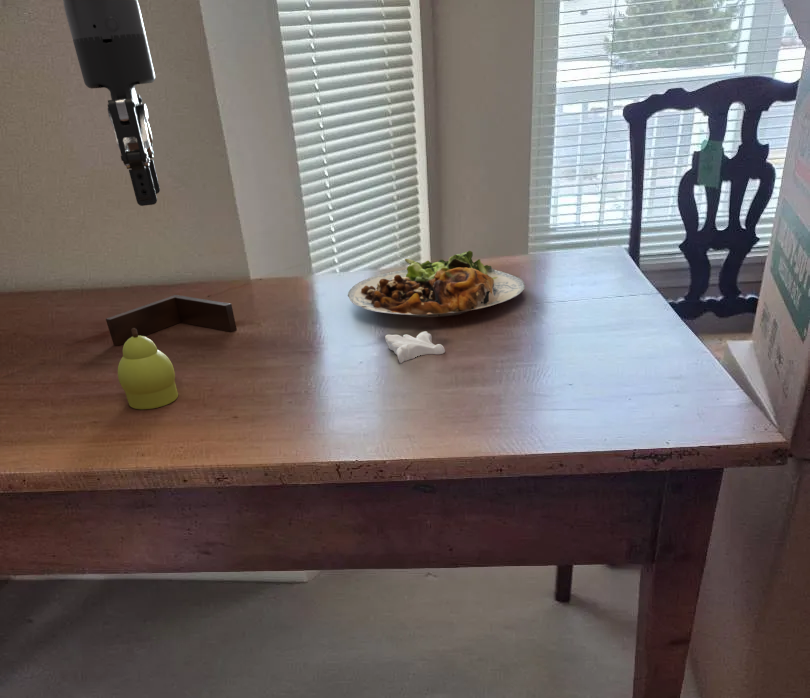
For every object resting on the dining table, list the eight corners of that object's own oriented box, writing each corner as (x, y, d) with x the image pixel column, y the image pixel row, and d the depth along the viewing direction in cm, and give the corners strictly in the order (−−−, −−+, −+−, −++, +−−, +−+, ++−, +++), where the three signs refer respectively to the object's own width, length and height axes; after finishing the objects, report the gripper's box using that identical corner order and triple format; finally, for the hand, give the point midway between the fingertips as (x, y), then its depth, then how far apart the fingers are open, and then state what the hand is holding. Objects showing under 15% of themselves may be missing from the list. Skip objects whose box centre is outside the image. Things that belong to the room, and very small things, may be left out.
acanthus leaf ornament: (399, 364, 95) (397, 350, 94) (379, 349, 100) (377, 336, 99) (450, 351, 97) (449, 337, 96) (428, 338, 102) (427, 324, 101)
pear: (148, 414, 87) (126, 340, 82) (115, 404, 90) (92, 333, 85) (191, 394, 91) (173, 323, 86) (158, 385, 95) (139, 316, 90)
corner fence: (168, 357, 104) (161, 329, 101) (113, 344, 111) (105, 318, 108) (237, 329, 112) (231, 303, 110) (181, 319, 119) (175, 294, 117)
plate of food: (453, 269, 132) (452, 234, 129) (562, 298, 113) (564, 257, 109) (318, 304, 120) (313, 266, 117) (414, 343, 101) (411, 299, 97)
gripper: (80, 38, 83) (122, 194, 92) (62, 33, 71) (111, 212, 80) (148, 33, 84) (182, 187, 93) (140, 27, 72) (181, 204, 81)
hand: (149, 199), depth 87 cm, fingers open, 8 cm apart
